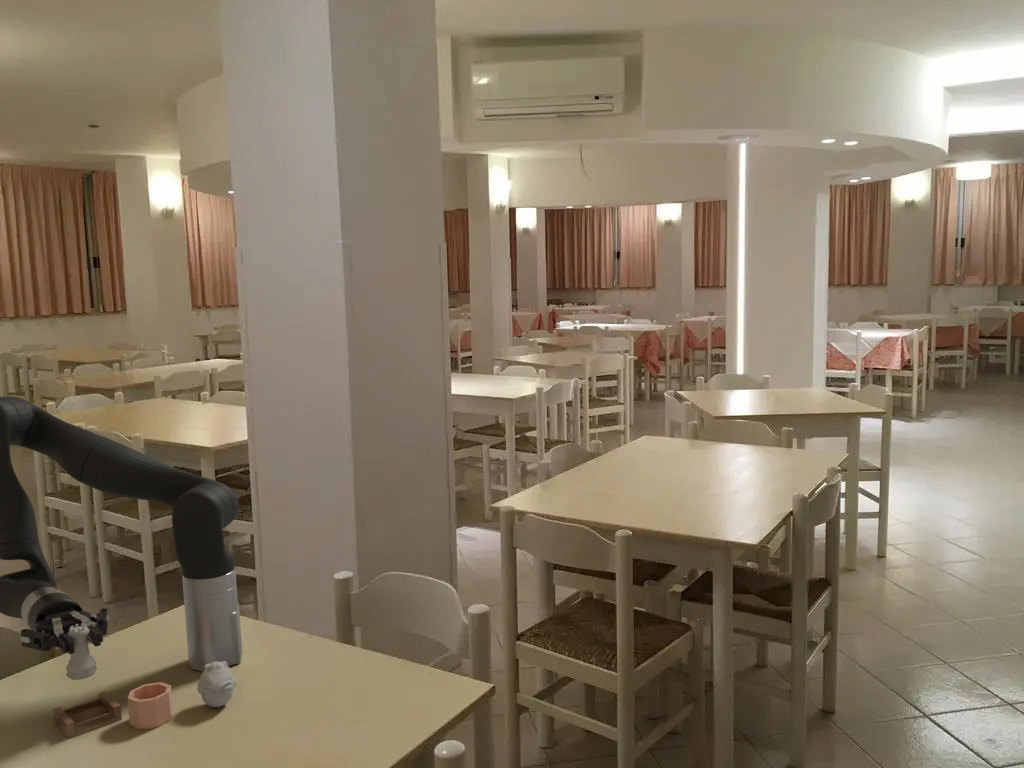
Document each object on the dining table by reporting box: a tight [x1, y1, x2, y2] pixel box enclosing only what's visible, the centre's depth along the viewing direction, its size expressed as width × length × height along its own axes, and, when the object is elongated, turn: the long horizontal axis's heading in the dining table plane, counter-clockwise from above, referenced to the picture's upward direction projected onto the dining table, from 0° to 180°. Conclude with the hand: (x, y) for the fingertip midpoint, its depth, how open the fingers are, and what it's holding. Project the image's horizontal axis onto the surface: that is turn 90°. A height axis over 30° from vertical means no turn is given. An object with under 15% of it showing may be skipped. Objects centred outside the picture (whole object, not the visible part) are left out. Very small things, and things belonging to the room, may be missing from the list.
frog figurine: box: [197, 661, 237, 708], centre depth 140 cm, size 6×7×7 cm
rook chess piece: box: [65, 623, 98, 681], centre depth 135 cm, size 4×4×8 cm
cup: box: [127, 681, 174, 730], centre depth 136 cm, size 6×6×5 cm
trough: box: [52, 691, 123, 739], centre depth 136 cm, size 7×8×2 cm
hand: (85, 643), depth 133 cm, fingers closed on rook chess piece, 3 cm apart
